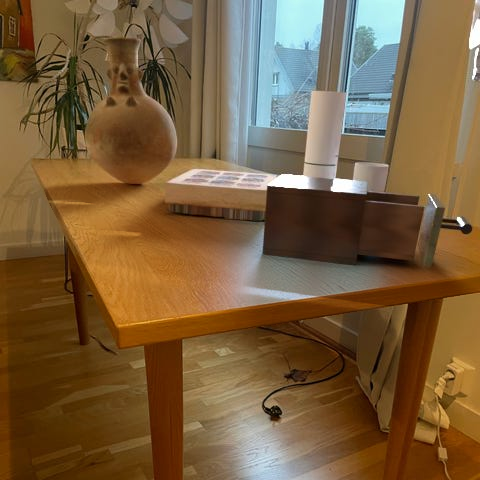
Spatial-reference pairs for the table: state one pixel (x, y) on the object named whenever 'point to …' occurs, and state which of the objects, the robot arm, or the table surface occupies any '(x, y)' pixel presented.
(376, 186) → the mug
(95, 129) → the vase
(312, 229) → the cabinet
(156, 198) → the table surface
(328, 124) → the cylindrical container
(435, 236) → the drawer
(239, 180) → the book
